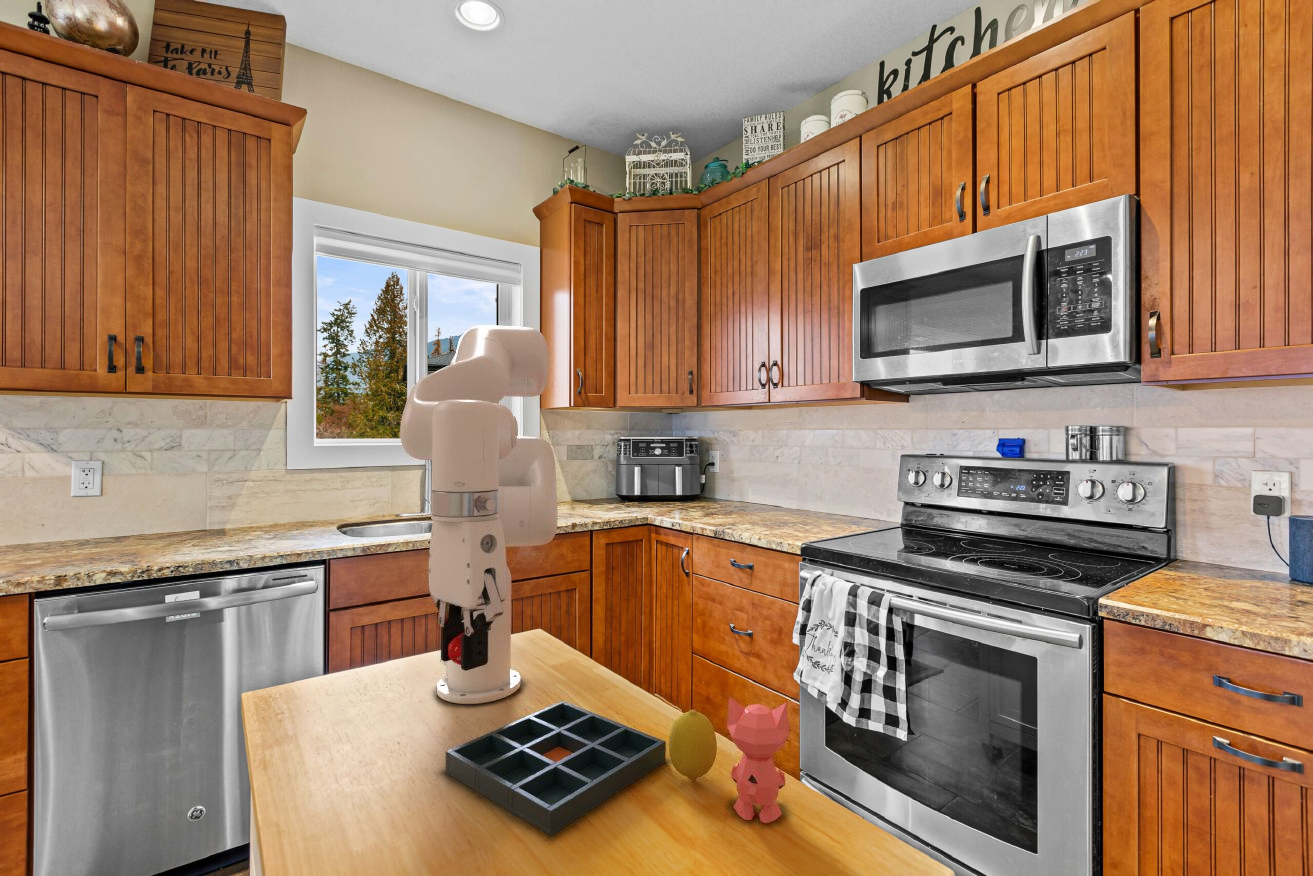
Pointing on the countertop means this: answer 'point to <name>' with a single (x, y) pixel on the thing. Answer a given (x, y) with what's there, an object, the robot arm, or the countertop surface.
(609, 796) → the grid
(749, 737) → the cat figurine
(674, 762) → the lemon
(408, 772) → the countertop surface
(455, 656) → the die
